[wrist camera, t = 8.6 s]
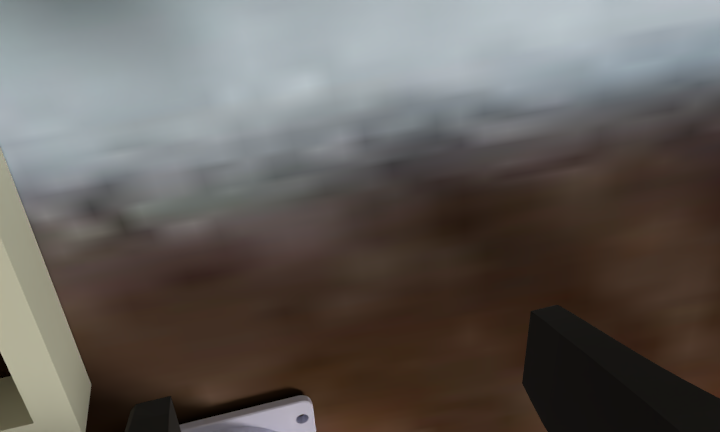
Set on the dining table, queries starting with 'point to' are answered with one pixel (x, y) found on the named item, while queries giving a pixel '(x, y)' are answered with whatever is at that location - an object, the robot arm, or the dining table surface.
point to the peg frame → (34, 333)
